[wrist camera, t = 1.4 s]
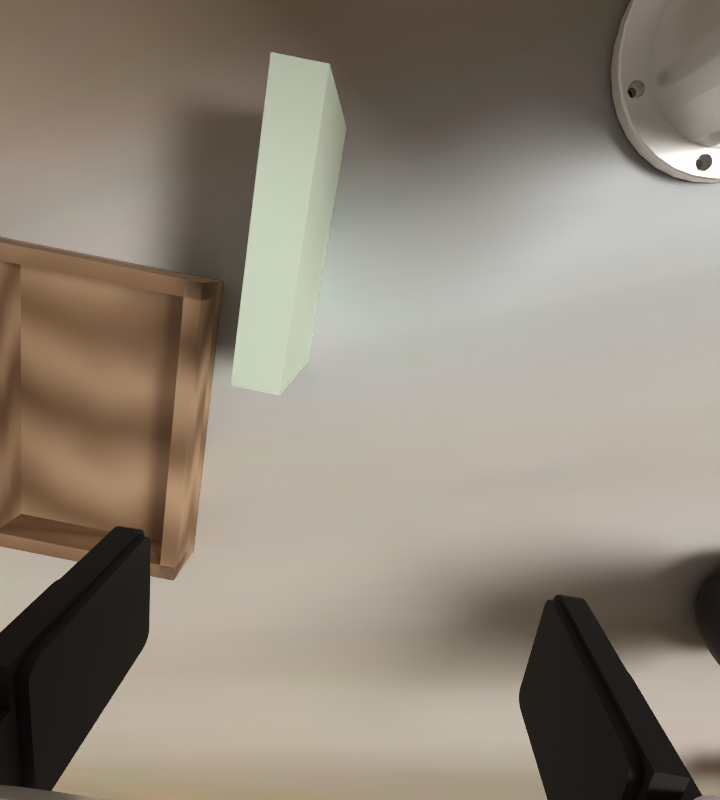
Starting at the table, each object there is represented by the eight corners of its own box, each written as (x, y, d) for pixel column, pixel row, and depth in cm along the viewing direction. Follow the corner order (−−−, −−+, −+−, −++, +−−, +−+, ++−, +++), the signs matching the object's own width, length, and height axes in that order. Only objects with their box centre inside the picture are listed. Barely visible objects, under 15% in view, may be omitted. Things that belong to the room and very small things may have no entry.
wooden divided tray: (-64, 224, 30) (-121, 218, 27) (223, 281, 30) (202, 282, 27) (-50, 502, 35) (-96, 527, 32) (193, 551, 35) (173, 580, 32)
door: (304, 120, 28) (268, 51, 19) (347, 128, 28) (329, 63, 19) (271, 353, 31) (228, 384, 23) (308, 360, 31) (279, 395, 23)
